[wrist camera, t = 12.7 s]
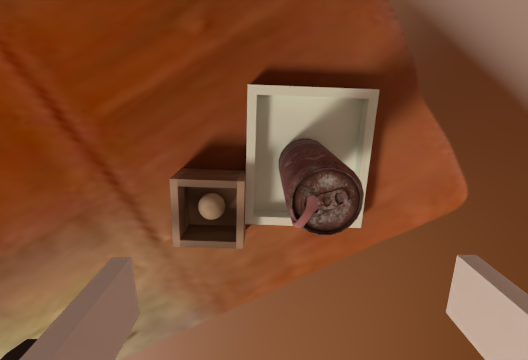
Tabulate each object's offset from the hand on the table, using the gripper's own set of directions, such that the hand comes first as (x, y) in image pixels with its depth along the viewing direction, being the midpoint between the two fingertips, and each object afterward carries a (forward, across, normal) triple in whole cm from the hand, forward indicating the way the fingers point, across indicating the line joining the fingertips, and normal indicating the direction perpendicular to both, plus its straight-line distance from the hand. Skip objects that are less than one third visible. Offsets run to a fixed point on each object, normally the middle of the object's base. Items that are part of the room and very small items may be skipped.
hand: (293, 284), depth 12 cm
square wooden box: (+25, -7, -6) cm, 27 cm away
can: (+25, +4, -1) cm, 25 cm away
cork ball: (+25, -7, -6) cm, 26 cm away
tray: (+25, +4, 0) cm, 25 cm away
